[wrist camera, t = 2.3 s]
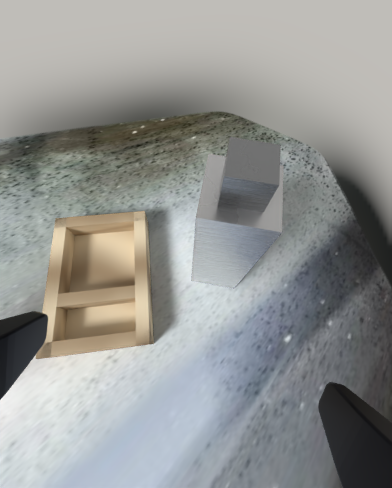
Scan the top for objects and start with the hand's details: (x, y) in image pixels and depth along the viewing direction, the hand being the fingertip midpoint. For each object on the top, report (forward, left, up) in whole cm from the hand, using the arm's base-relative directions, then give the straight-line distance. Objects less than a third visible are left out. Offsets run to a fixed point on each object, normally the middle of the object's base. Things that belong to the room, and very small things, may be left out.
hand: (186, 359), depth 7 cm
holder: (+9, +2, -13) cm, 16 cm away
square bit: (+4, -7, -13) cm, 15 cm away
